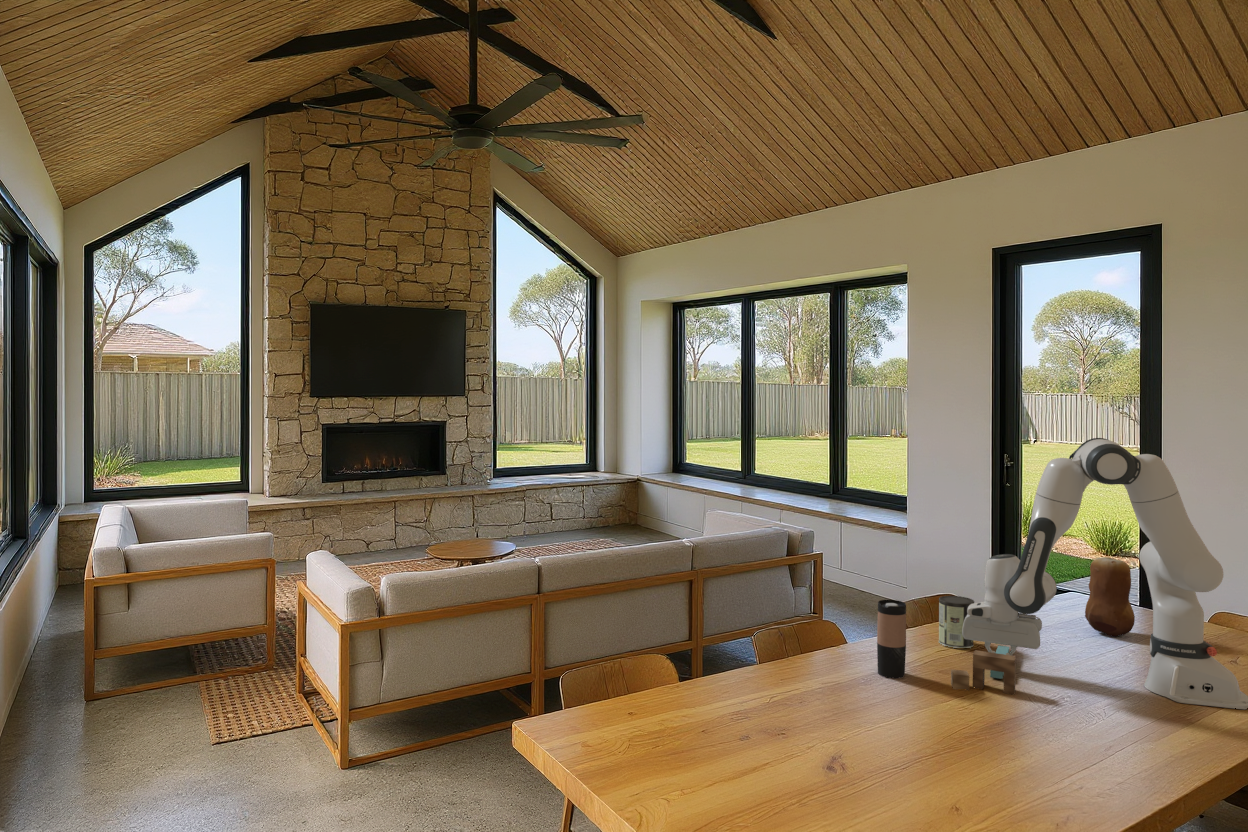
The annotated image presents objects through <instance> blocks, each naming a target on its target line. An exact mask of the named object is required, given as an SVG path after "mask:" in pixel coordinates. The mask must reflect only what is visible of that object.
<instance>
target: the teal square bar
mask: <svg viewBox="0 0 1248 832" xmlns="http://www.w3.org/2000/svg"><path fill="white" fill-rule="evenodd" d="M995 653H998V654H1004V655H1006V653H1010V646H1008V645H1002V644H997V648H996V650H995ZM989 671H990V673H989V677H990V678H993V679H994V678H995V679H1000V680H1002V679H1004V672H999V671H993V670H989Z"/></svg>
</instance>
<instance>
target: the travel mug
mask: <svg viewBox="0 0 1248 832" xmlns="http://www.w3.org/2000/svg"><path fill="white" fill-rule="evenodd" d="M876 625H877V632H876V635H877V636H876V640H877V641H876V649H877V650H876V651H877V652H876V653H877V655H876V656H877V674H878V675H879V676H881V677H884V678H887V679H901V678H902V679H903V678H904V677H905V672H906V654H907V653H906V652H907V604H906V602H903V601H901V600H897V599H896V600H895V599H881V600H878V602H877V624H876Z"/></svg>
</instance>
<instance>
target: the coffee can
mask: <svg viewBox="0 0 1248 832" xmlns="http://www.w3.org/2000/svg"><path fill="white" fill-rule="evenodd" d="M938 601H939V602H938V644H939V643H940V644H939V645H941V644H942V645H941V646H943V645H944V646H943V647H945V646H948V647H953V648H952V649H954V648H970V649H972V648H971V647H973V646H975V645H974V641H975V640H968V639H964V637H963V636H962V629H963V623H964V619H965V617H966V616H967V614H968V613H967V609H968V606H969V605H970V604H973V603H975V600H974V599H972V598H970V597H965V596H959V595H944V596H943V595H942V596H940V597H939V598H938ZM948 647H947V648H948ZM973 648H974V647H973Z"/></svg>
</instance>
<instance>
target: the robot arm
mask: <svg viewBox="0 0 1248 832" xmlns="http://www.w3.org/2000/svg"><path fill="white" fill-rule="evenodd" d="M1094 481H1095V482H1098V483H1100V484H1103V485H1109V486H1110V485H1111V486H1112V485H1113V486H1115V485H1123V486H1124V488H1125V490H1126V492H1127V495H1128V498H1129V501H1130V504H1131V506H1132V509H1133V512H1134V514H1135V517H1136V521H1137V524H1138V526H1139V527H1140V530H1141V531H1142V532H1143V533H1144V534H1145V536H1146V538H1148V539H1149V541H1148V542H1147V543H1145V544H1144V545H1143V546H1142V548H1141V549H1140V551H1139V554H1138V555H1139V556H1138V557H1139V562H1140V565H1141V567H1142V568H1143V570H1144V571H1145V575H1146V578H1147V583H1148V587H1149V592H1150V597H1151V598H1150V599H1151V603H1152V633H1151V634H1150V639H1149V654H1150V662H1149V669H1148V673H1147V676H1146V680H1145V681H1144V684H1143V686H1144V688H1146V689H1147V690H1148V691H1150V692H1152V693H1154V694H1157V695H1159V696H1161V697H1162V696H1163V697H1164V698H1168V699H1170V700H1171V701H1174V702H1176V703H1181V704H1190V705H1198V706H1209V707H1217V708H1226V709H1235V708H1236V709H1237V710H1248V709H1247V708H1248V695H1247V694H1246V693H1245V692H1243V691H1241V690H1240V686H1239V682H1238V678H1237V677H1236V675H1235V674H1234V673H1233V672H1232V671H1231V670H1230V669H1228V668H1227V667H1226V666H1225V665H1223V664H1222V663H1221V662H1220V661H1218V660H1217V659H1216V658H1215V657H1216V656H1217V655H1218V650H1217V649H1216V648H1215V647H1214V646H1213V645H1212V644H1210V643H1209V642H1208V641H1206V640H1204V632H1205V631H1204V630H1205V627H1204V625H1205V613H1204V610H1203V607H1202V606H1201V604H1200V602H1199V599H1198V596H1197V594H1196V593H1209V592H1211V591H1214V590H1216V589H1217V588H1218V587H1219V586H1220V585H1221V583H1222V582H1223V578H1224V569H1223V567H1222V564H1221V563H1220V561H1218V559H1216V557H1214V555H1213V554H1212V553H1211V551H1209V549H1208V547H1207V545H1206V544H1205V543H1204V541H1203V539H1202V538H1201V536H1200V534H1199V533H1198V531H1197V530H1196V528H1195V527H1194V525H1193V523H1192V522H1191V520H1190V518H1189V516H1188V513H1187V511H1186V507H1185V505H1184V502H1183V500H1182V497H1181V494H1180V492H1179V488H1178V486H1177V484H1176V481H1175V479H1174V478H1173V475H1172V474H1171V472H1170V470H1169V468H1168V467H1167V465H1166V463H1165V462H1164V460H1163V459H1162V458H1161V457H1159V456H1157V455H1155V454H1150V453H1142V454H1137V455H1133V454H1132V453H1131V452H1130V451H1128V450H1127V449H1126V448H1124V447H1122V445H1120V444H1119V443H1117V442H1115V441H1113V440H1110V439H1108V438H1103V437H1094V438H1091V439H1088V440H1085V441H1083V443H1082V444H1081V445H1079V446H1078V447H1077V449H1075V450H1074V451H1073V453H1071V454H1070V455H1069V457H1068V458H1067V457H1058V458H1054V459H1051V460H1050V461H1048V462H1047V464H1046V465H1045V467H1044V469H1043V472H1042V474H1041V477H1040V479H1039V483H1038V485H1037V488H1036V491H1035V492H1036V493H1035V495H1034V500H1033V504H1032V511H1031V518H1030V522H1029V523H1030V524H1029V529H1028V533H1027V537H1026V540H1025V544H1024V546H1023V550H1022V554H1021V557H1020V559H1019V557H1018V556H1016V555H1015V554H1012V553H1011V554H1010V553H1003V554H1002V553H1001V554H996V555H993V556H991V557H989V558H988V559H987V560H986V563H985V564H986V565H985V570H984V587H985V594H984V599H983V601H980V602H974V603H973V604H970V605H969V606H968V609H967V613H968V614H967V616H966V617H965V619H964V623H963V629H962V636H963V637H964V639H968V640H973V641H976V642H981V643H982V642H984V647H985V649H986V650H987V652H991V653H996V650H992V648H991V645H992V644H997V645H1002V646H1009V650H1011V651H1009V653H1006V655H1011V656H1014V655H1013V654H1014V653H1015V652H1016V651H1017V648H1027V649H1031V650H1038V649H1039V648H1040V647H1041V634H1040V633H1041V631H1042V628H1043V622H1042V619H1041V618H1040V617H1039V616H1037V615H1035V613H1037V612H1038V611H1041V609H1042V608H1043V607H1044V605H1046V604H1047V603H1049V602H1050V601H1051V600H1052V599H1053V598H1054V597H1055V596H1056V593H1057V592H1058V591H1057V589H1058V587H1057V586H1058V585H1057V583H1056V580H1055V578H1054V577H1053V576H1052V575H1051V574H1050V572H1047V571H1046V569H1047V565H1048V563H1049V562H1048V561H1049V558H1050V556H1051V552H1052V550H1053V549H1054V546H1055V544H1056V543H1057V542H1058V540H1059V539H1060V538H1061V537H1063V535H1064V534H1066V533H1067V532H1068V531H1069V530H1070V529H1071V528H1072V526H1073V524H1074V523H1075V520H1076V518H1077V516H1078V514H1079V511H1080V508H1081V503H1082V499H1083V496H1084V492H1085V491H1086V489H1087V487H1088V486H1089V485H1090V484H1092V482H1094Z"/></svg>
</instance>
